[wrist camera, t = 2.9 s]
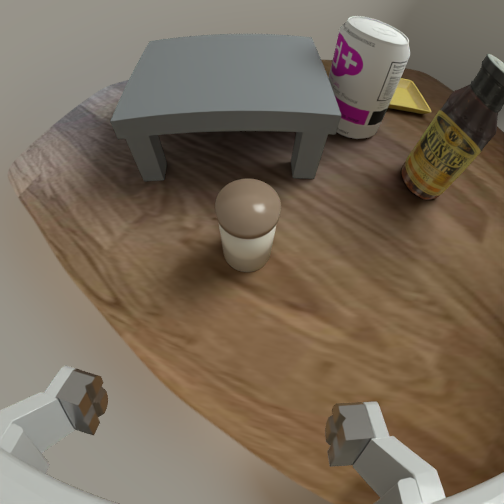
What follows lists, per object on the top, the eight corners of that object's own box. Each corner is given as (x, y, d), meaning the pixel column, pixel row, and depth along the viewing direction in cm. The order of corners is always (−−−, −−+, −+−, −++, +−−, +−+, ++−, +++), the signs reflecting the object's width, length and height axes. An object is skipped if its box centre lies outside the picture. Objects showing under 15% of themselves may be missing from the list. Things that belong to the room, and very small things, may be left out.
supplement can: (329, 141, 35) (360, 39, 21) (313, 101, 38) (332, 9, 24) (384, 143, 35) (427, 54, 21) (364, 104, 38) (393, 21, 25)
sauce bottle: (390, 174, 33) (463, 42, 15) (414, 156, 35) (480, 41, 16) (427, 213, 31) (523, 93, 13) (448, 191, 33) (530, 84, 14)
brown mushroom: (270, 227, 30) (278, 178, 22) (272, 272, 28) (282, 234, 20) (222, 228, 30) (216, 178, 22) (221, 273, 28) (213, 234, 20)
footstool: (301, 95, 38) (311, 37, 29) (318, 182, 32) (341, 115, 23) (162, 98, 38) (149, 41, 29) (139, 185, 31) (110, 121, 22)
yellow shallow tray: (427, 120, 39) (432, 112, 37) (383, 113, 39) (388, 103, 37) (408, 89, 42) (412, 80, 40) (367, 81, 42) (370, 71, 40)
